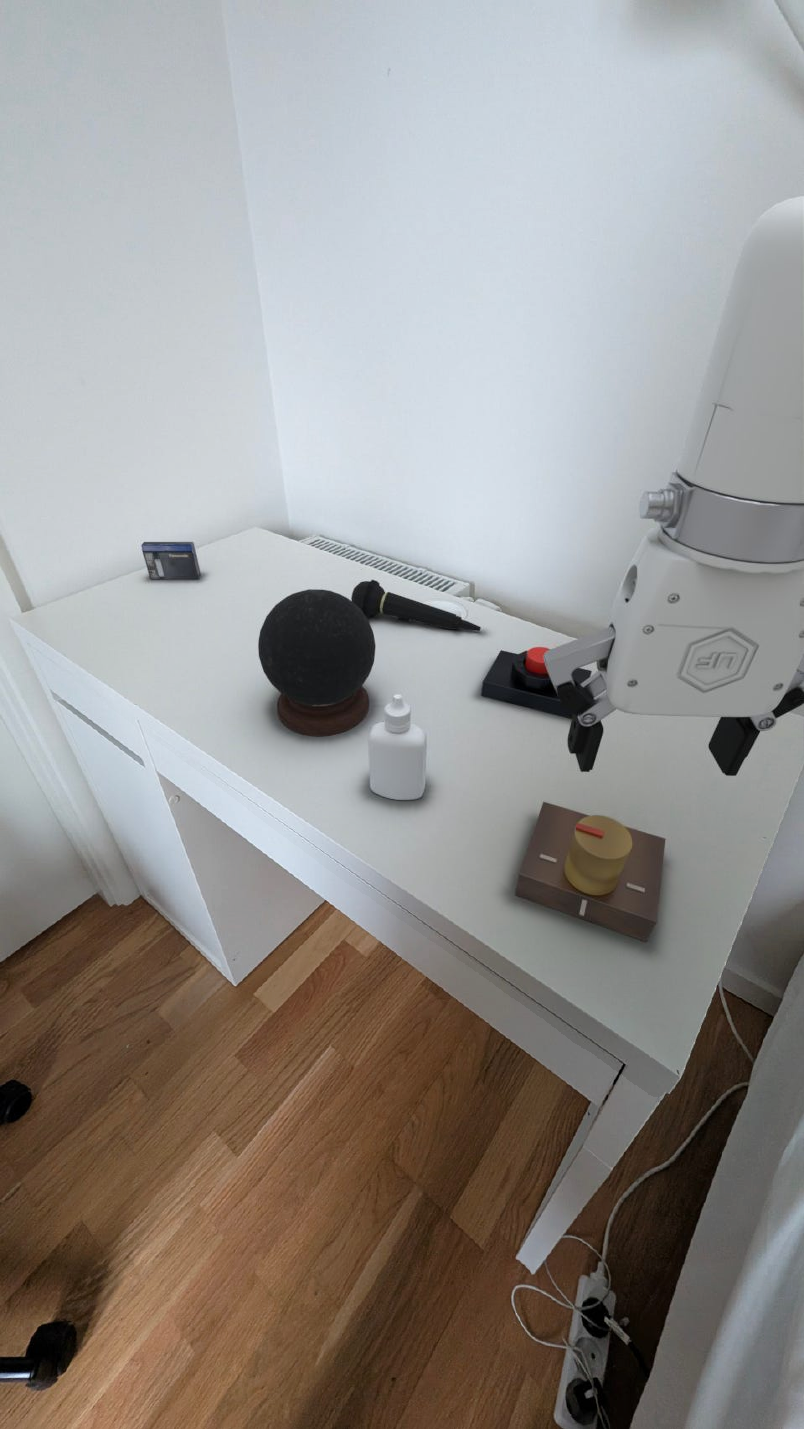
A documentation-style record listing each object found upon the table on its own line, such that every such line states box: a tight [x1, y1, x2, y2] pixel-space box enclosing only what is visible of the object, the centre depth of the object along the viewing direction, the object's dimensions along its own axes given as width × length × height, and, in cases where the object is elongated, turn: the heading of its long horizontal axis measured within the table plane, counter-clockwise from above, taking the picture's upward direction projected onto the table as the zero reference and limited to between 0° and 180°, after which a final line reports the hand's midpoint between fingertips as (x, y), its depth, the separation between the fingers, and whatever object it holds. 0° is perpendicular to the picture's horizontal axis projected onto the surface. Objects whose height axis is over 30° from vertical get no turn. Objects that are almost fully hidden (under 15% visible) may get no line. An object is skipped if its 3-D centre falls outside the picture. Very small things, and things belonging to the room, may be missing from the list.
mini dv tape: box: [140, 541, 202, 580], centre depth 97 cm, size 8×2×6 cm, turn 90°
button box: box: [480, 649, 593, 720], centre depth 73 cm, size 12×8×4 cm, turn 66°
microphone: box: [350, 579, 482, 632], centre depth 86 cm, size 6×6×20 cm
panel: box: [514, 801, 667, 943], centre depth 50 cm, size 11×11×3 cm
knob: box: [564, 814, 632, 895], centre depth 47 cm, size 4×4×5 cm
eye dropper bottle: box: [367, 694, 428, 801], centre depth 56 cm, size 4×6×12 cm
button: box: [525, 646, 551, 674], centre depth 71 cm, size 4×4×2 cm
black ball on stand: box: [257, 589, 376, 737], centre depth 66 cm, size 13×13×15 cm
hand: (650, 759), depth 40 cm, fingers open, 9 cm apart
